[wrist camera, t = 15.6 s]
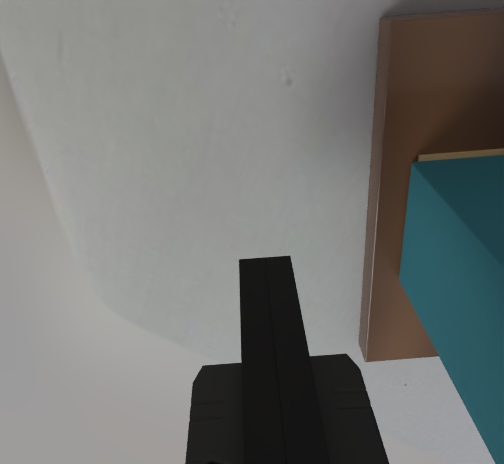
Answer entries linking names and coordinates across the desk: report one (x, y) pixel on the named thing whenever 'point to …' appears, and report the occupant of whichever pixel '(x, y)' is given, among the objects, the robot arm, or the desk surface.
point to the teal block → (461, 278)
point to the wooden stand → (423, 147)
